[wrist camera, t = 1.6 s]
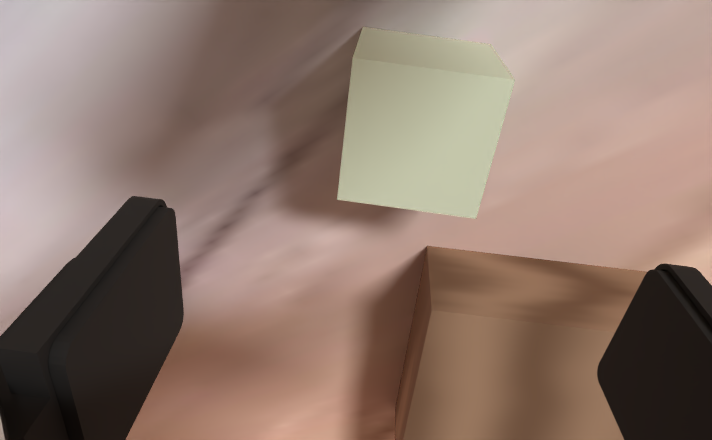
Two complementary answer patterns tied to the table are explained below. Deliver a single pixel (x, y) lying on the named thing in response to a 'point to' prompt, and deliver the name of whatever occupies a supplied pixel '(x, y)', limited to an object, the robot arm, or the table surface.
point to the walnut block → (510, 348)
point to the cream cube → (422, 122)
